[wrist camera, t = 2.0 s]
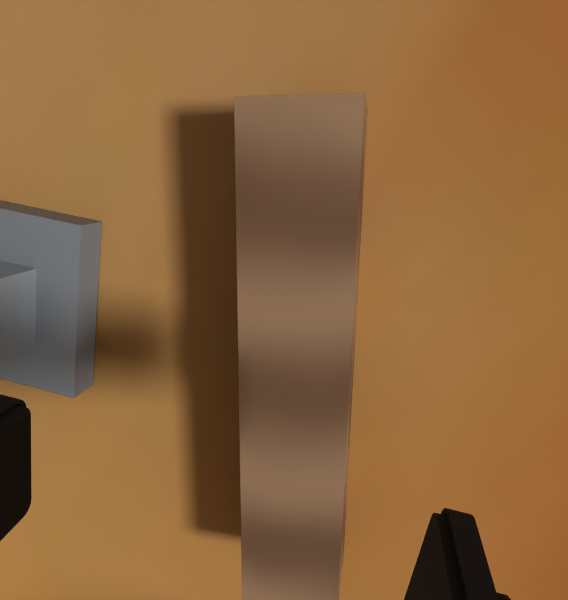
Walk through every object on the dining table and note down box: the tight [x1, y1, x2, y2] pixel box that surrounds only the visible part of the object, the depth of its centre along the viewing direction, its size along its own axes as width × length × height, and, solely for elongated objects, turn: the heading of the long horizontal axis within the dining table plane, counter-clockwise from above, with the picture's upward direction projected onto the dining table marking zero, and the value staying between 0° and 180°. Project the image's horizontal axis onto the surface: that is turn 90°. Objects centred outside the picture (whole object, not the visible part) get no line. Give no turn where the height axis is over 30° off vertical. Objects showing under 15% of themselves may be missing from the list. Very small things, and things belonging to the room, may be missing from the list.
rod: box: [234, 94, 368, 600], centre depth 19 cm, size 20×4×4 cm, turn 179°
